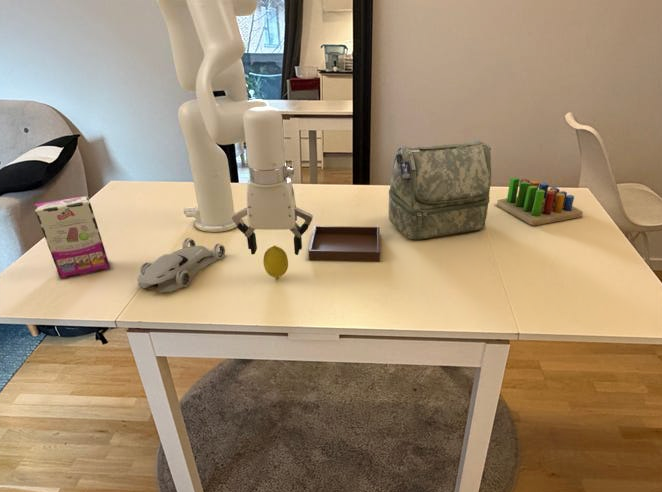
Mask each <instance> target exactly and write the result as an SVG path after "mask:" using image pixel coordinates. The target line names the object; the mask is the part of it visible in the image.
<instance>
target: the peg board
mask: <svg viewBox="0 0 662 492" xmlns="http://www.w3.org/2000/svg"><path fill="white" fill-rule="evenodd" d="M560 190H561V189H560V188H557V187H555V186H552V187H550V188H549V184H548V183H547V182H539V181H536V180H532V181H530V180H529V179H527V178H523V179H520V178H518V177H516V176H514V177H510V178H509V183H508V189H507V197H506V198H499V199H497V200H496V206H498V207H499V208H501V209H503V210H504V211H505V212H508V213H509V214H512V215H513V216H514V217H516V218H518V219H520V220H522V221H523V222H525V223H527V224H528V225H530V226H540V225H546V224H550V223H556V222H561V221H566V220H572V219H579V218H582V216H583V214H584V212H583V210H581V209H579V208H577V207H575V206H573V204H574V200H575V195H573V194H568V192H567V191H565V190H561V191H560Z"/></svg>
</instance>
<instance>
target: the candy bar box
mask: <svg viewBox="0 0 662 492" xmlns="http://www.w3.org/2000/svg"><path fill="white" fill-rule="evenodd" d="M34 210H35V214H36V217H37V221H38V223H39V225H40V229H41V230H42V233H43V236H44V239H45V241H46V244H47V246H48V250H49V252H50V254H51V258H52V260H53V263H54V265H55V268H56V271H57V274H58V277H59V279H60V280H61V279H62V280H63V279H69V278H72V277H79V276H83V275H88V274H92V273H97V272H102V271H106V270H107V271H108V270H111V265H110V262H109V259H108V256H107V251H106V248H105V245H104V241H103V239H102V236H101V232H100V229H99V226H98V223H97V220H96V217H95V213H94V210H93V207H92V204H91V200H90V199H89V196H88V195H82V196H77V197H71V198H64V199H59V200H53V201H47V202H41V203H35V204H34Z"/></svg>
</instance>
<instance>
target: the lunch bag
mask: <svg viewBox="0 0 662 492" xmlns="http://www.w3.org/2000/svg"><path fill="white" fill-rule="evenodd" d="M491 149H492V147H490V146H489V145H488V144H487V143H485V142H483V141H481V140H476V141H470V142H463V143H452V144H451V143H449V144H441V145H433V146H415V147H411V146H406V145H402V146H400V147H399V148H398V149H397V150H395V151H394V154H395V156H394V161H393V165H392V173H391V179H390V184H389V190H388V209H387V210H388V214H387V215H388V219H389V221H390V223H391V224H392V225H393V226H394V227H395V228H396V229H397V230H398V231H399V232H400V234H402V235H403V236H404V237H405V238H407V239H409V240H424V239H431V238H437V237H444V236H449V235H455V234H461V233H468V232H473V231H478V230H481V229H483V228H485V226H486V221H487V215H488V210H489V203H490V199H491V197H490V192H491V185H492V162H491V161H492V155H491V154H492V152H491Z"/></svg>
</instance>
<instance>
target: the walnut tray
mask: <svg viewBox="0 0 662 492" xmlns="http://www.w3.org/2000/svg"><path fill="white" fill-rule="evenodd" d="M380 229H381V227H380V226H349V225H347V226H345V225H344V226H343V225H342V226H341V225H314V226H313V230H312V235H311V239H310V243H309V248H308V261H325V262H327V261H331V262H376V263H377V262H380V261H381V260H380V259H381V258H380V257H381V233H380V231H381V230H380Z"/></svg>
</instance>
